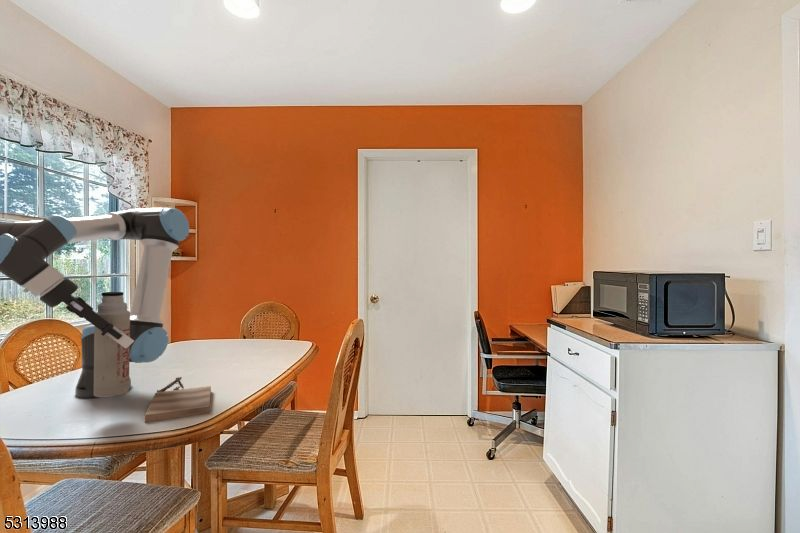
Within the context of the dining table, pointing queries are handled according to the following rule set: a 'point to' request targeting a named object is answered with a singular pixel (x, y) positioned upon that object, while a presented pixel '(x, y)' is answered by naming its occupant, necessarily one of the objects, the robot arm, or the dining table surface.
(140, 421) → the dining table surface
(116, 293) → the thermos bottle
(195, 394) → the walnut board
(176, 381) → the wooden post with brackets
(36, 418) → the dining table surface
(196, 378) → the dining table surface
